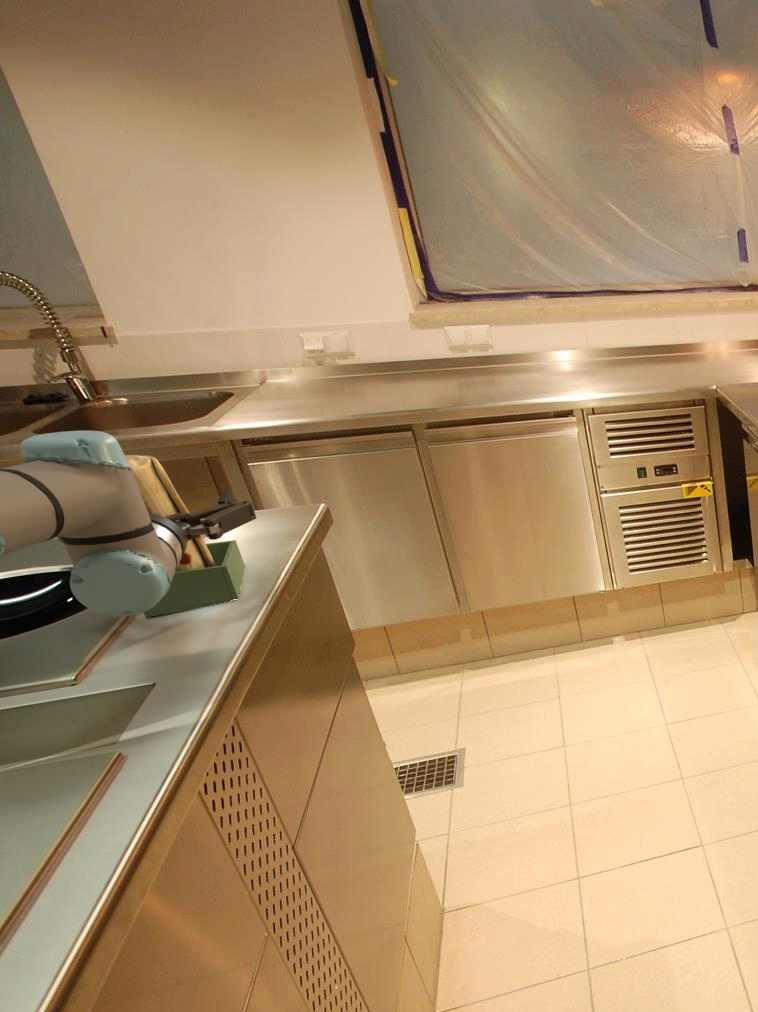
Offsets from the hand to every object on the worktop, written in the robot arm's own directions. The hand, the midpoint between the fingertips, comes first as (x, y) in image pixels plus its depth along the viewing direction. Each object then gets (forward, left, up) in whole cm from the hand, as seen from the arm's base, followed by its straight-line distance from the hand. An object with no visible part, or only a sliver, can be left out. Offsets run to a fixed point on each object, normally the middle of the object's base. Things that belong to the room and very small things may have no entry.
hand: (167, 506), depth 118 cm
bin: (0, -2, -13) cm, 13 cm away
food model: (0, -2, -12) cm, 12 cm away
